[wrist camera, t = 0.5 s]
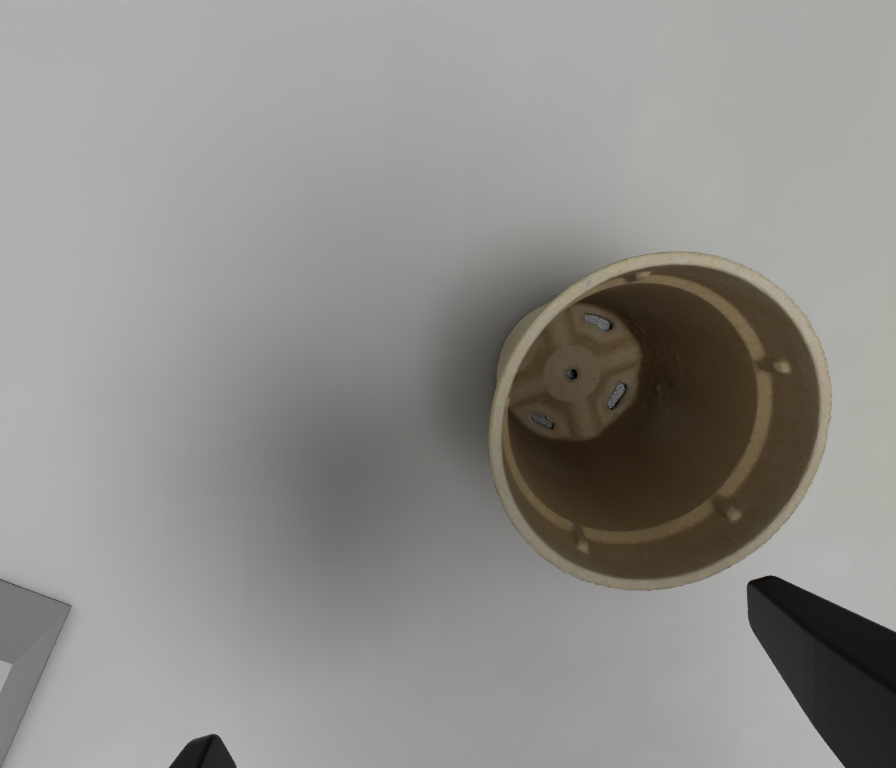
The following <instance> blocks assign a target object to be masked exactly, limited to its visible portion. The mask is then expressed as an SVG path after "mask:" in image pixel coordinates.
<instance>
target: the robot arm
mask: <svg viewBox="0 0 896 768" xmlns="http://www.w3.org/2000/svg"><path fill="white" fill-rule="evenodd" d="M747 603H748V619H749V623H750V626H751V628H752V630H753V632H754V634H755V636H756V637H757V639H758V640H759V642H760V643H761V645H762V647H763V648H764V650H765V651H766V653H767V654H768V656H769V658H770V659H771V661H772V662H773V664H774V665H775V667H776V669H777V670H778V672H779V673H780V675H781V676H782V678H783V680H784V681H785V683H786V684H787V686H788V687H789V689H790V691H791V692H792V694H793V695H794V697H795V698H796V700H797V702H798V703H799V705H800V706H801V708H802V709H803V711H804V712H805V714H806V715H807V717H808V718H809V720H810V721H811V723H812V724H813V726H814V727H815V729H816V730H817V731H818V733H819V734H820V735H821V737H822V738H823V739H824V741H825V742H826V743H827V745H828V746H829V747H830V749H831V750H832V751H833V752H834V754H835V755H836V756H837V758H838V759H839V760H840V761H841V763H842V764H843V765H844V767H845V768H896V632H895V631H892V630H890V629H888V628H886V627H884V626H882V625H880V624H877V623H875V622H873V621H871V620H869V619H867V618H864V617H862V616H860V615H858V614H856V613H854V612H852V611H849V610H847V609H845V608H843V607H841V606H839V605H837V604H834V603H832V602H830V601H828V600H826V599H824V598H821V597H819V596H817V595H815V594H813V593H811V592H809V591H806V590H804V589H802V588H800V587H798V586H796V585H793V584H791V583H789V582H787V581H785V580H783V579H781V578H778V577H776V576H765V577H762V578H758V579H755V580H751V581H750V582H749V583H748V585H747ZM169 768H237V767H236V764H235V762H234V760H233V759H232V757H231V755H230V754H229V752H228V750H227V748H226V747H225V745H224V743H223V741H222V740H221V738H220V737H219V736H218V735H216V734H210V735H207V736H203V737H200V738H196V739H194V740H192V741H190V742H189V743H188V744H187V745H186V746H185V747H184V749H183V750H182V751H181V752H180V754H179V755H178V756H177V758H176V759H175V760H174V762H173V763H172V764H171V766H170V767H169Z"/></svg>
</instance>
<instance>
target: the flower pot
mask: <svg viewBox="0 0 896 768" xmlns="http://www.w3.org/2000/svg"><path fill="white" fill-rule="evenodd" d="M585 314H588V315H596V316H598V317H601V318H603V319H606V320H608V321H609V322H610V323H611V324H612V330H609V331H603V330H602V329H600V328H599V327H598V326H597V325H595V324H592V323H590V322H588V321H586V320H584V315H585ZM571 369H574V370H576V371H577V377H576V378H575V379H569V377H568V375H567V372H568V371H569V370H571ZM617 383H623V384H625V385H626V392H625V394H624V395H623V397H622V398H621V399H620V401H618V403H617V405H616V406H615V407H614V408H613V409H610V408H609V407H607V403H608V401H609V399H610V398H611V395H612V394H613V392H614V391H615V389H616V387H617ZM831 397H832V389H831V383H830V377H829V371H828V365H827V361H826V358H825V355H824V351H823V349H822V347H821V343H820V341H819V339H818V337H817V335H816V334H815V332H814V330H813V328H812V326H811V324H810V322H809V320H808V318H807V317H806V315H805V314H804V313H803V312H802V310H801V309H800V308H799V306H797V305H796V304H795V302H794V301H793V300H791V299H790V298H789V297H788V296H787V294H786V293H785V292H784V291H783V290H782V289H781V288H780V287H778V286H776V285H775V284H773V283H772V282H771V281H770V280H769V279H767V278H765V277H764V276H763V275H761V274H759V273H758V272H756V271H754V270H752V269H750V268H748V267H745V266H743V265H741V264H739V263H737V262H734V261H731V260H729V259H725V258H722V257H719V256H715V255H709V254H704V253H697V252H660V253H652V254H646V255H641V256H636V257H632V258H627V259H624V260H621V261H618V262H615V263H613V264H610V265H608V266H606V267H603V268H601V269H599V270H597V271H595V272H593V273H591V274H589V275H587V276H586V277H584V278H582V279H580V280H579V281H577V282H576V283H574V284H573V285H571V286H570V287H568V288H567V289H565V290H564V291H563V292H561V293H560V294H559V295H558V296H557V297H556V298H555V299H553V300H552V301H550V302H548V303H546V304H543V305H541V306H539V307H538V308H536V309H534V310H533V311H531V312H529V313H528V314H527V315H526V316H525V317H523V318H522V319H521V320H520V321H519V322H518V323H517V325H516V326H515V327H514V328H513V329H512V331H511V332H510V333H509V335H508V337H507V338H506V340H505V342H504V345H503V347H502V349H501V352H500V356H499V360H498V365H497V386H496V390H495V394H494V398H493V402H492V407H491V413H490V421H489V432H488V441H489V461H490V467H491V471H492V475H493V480H494V484H495V488H496V490H497V493H498V496H499V498H500V500H501V503H502V505H503V507H504V509H505V511H506V513H507V515H508V517H509V518H510V520H511V522H512V524H513V525H514V526H515V528H516V529H517V531H518V532H519V533H520V535H521V536H522V537H523V538H524V539H525V540H526V542H527V543H528V544H529V545H530V546H531V547H532V548H533V549H534V550H535V551H536V552H537V553H539V554H540V555H541V556H542V557H543V558H545V559H546V560H547V561H548V562H550V563H551V564H553V565H555V566H556V567H558V568H559V569H560V570H562V571H563V572H565V573H567V574H570V575H572V576H574V577H576V578H579V579H580V580H582V581H587V582H591V583H594V584H596V585H602V586H606V587H609V588H616V589H624V590H648V591H651V590H654V589H656V590H659V589H668V588H673V587H677V586H682V585H685V584H689V583H693V582H697V581H700V580H703V579H706V578H708V577H711V576H712V575H714V574H717V573H719V572H721V571H723V570H725V569H727V568H729V567H731V566H732V565H734V564H736V563H738V562H739V561H741V560H742V559H744V558H746V557H747V556H748V555H750V554H751V553H753V552H755V551H756V550H757V549H758V548H759V547H761V546H762V545H763V544H765V543H766V542H767V541H768V540H769V539H771V537H772V535H773V534H774V533H776V532H777V531H778V530H779V529H780V527H781V526H782V525H783V524H784V523H785V522H787V521H788V519H789V518H790V516H791V515H792V514H793V513H794V511H795V510H796V508H797V507H798V505H799V504H800V502H801V500H802V499H803V498H804V495H805V494H806V492H807V490H808V488H809V486H810V484H811V483H812V480H813V478H814V476H815V474H816V472H817V469H818V467H819V464H820V462H821V459H822V456H823V453H824V450H825V447H826V441H827V430H828V425H829V422H830V419H831V415H830V414H831V407H832V401H831ZM533 414H536V415H538V416H540V417H544V416H547V417H546V419H547V420H548V421H550V422H552V423H554V427H553V429H551V428H548V427H545V426H543V425H541V424H538V423H537V422H535V421H534V420H533V418H532V415H533Z"/></svg>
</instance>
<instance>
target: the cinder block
mask: <svg viewBox="0 0 896 768" xmlns="http://www.w3.org/2000/svg"><path fill="white" fill-rule="evenodd" d="M70 607H71V606H69V605H66V604H64V603H61V602H58V601H56V600H53V599H50V598H47V597H45V596H42V595H39V594H37V593H34V592H31V591H28V590H26V589H23V588H20V587H18V586H15V585H12V584H9V583H7V582H4V581H1V580H0V768H1V766H2V763H3V761H4V759H5V756H6V754H7V752H8V750H9V747H10V745H11V743H12V740H13V738H14V736H15V733H16V731H17V729H18V727H19V724H20V722H21V720H22V717H23V715H24V713H25V711H26V708H27V706H28V704H29V701H30V699H31V697H32V694H33V692H34V690H35V688H36V685H37V683H38V681H39V678H40V676H41V674H42V672H43V669H44V667H45V665H46V662H47V660H48V658H49V655H50V653H51V651H52V649H53V646H54V644H55V642H56V639H57V637H58V635H59V632H60V630H61V628H62V626H63V623H64V621H65V619H66V616H67V614H68V612H69V610H70Z"/></svg>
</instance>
